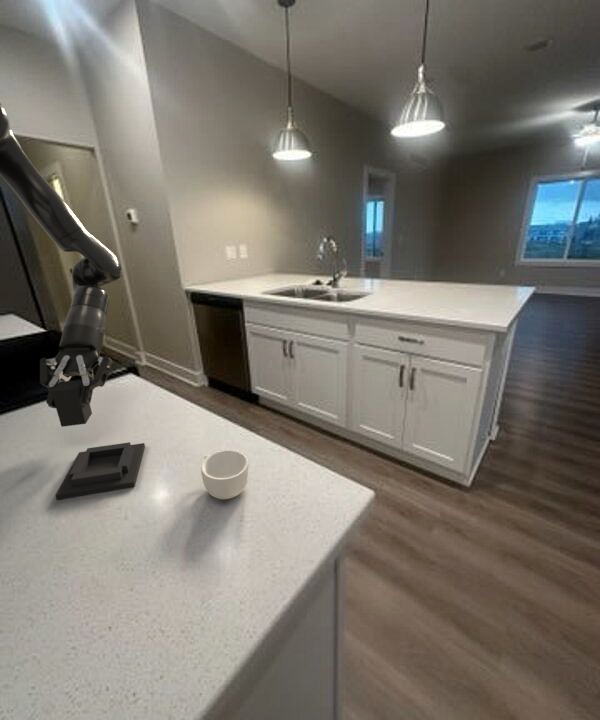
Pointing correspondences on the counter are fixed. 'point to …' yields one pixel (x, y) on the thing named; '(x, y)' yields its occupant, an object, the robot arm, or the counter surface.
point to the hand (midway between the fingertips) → (67, 406)
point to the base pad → (100, 466)
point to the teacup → (225, 473)
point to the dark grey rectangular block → (70, 403)
